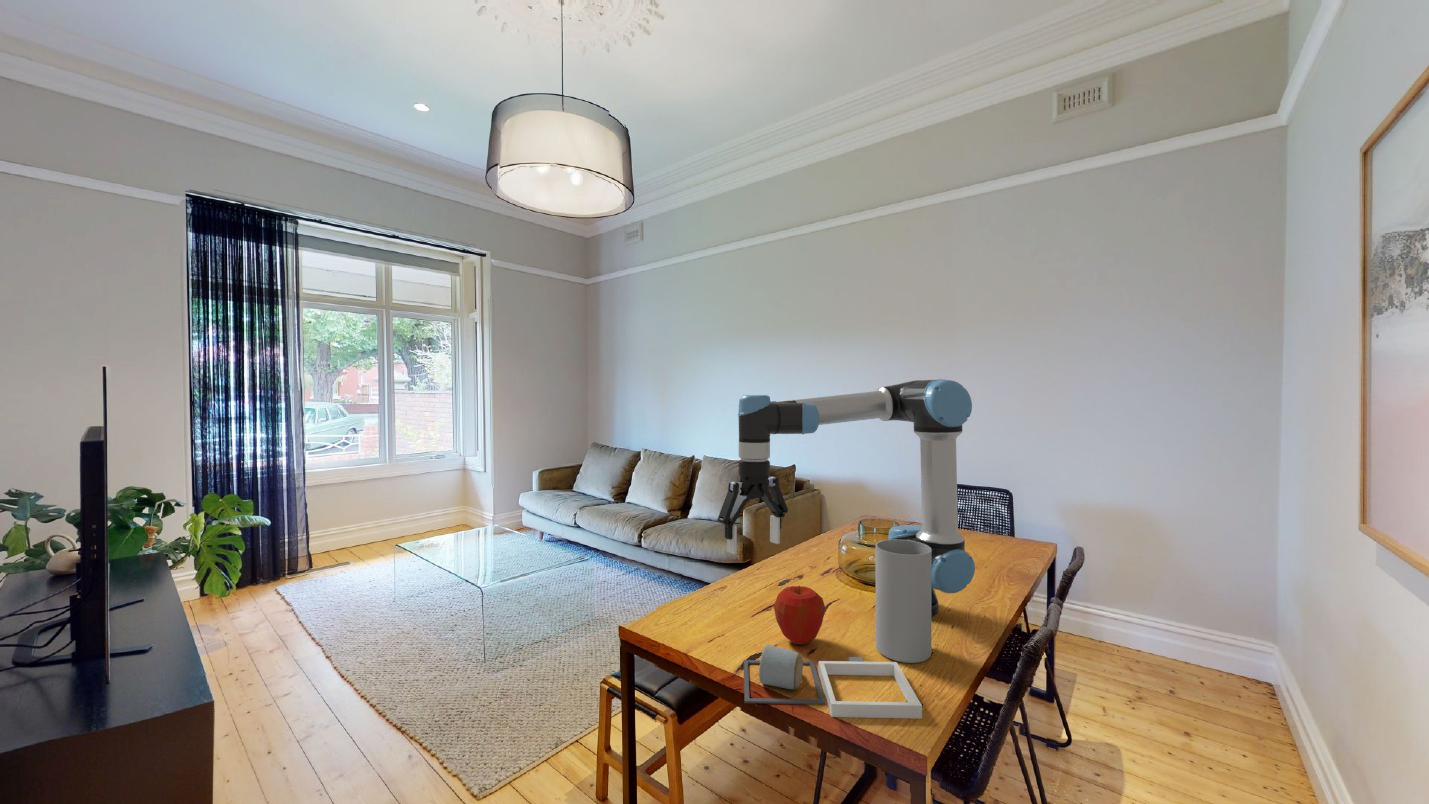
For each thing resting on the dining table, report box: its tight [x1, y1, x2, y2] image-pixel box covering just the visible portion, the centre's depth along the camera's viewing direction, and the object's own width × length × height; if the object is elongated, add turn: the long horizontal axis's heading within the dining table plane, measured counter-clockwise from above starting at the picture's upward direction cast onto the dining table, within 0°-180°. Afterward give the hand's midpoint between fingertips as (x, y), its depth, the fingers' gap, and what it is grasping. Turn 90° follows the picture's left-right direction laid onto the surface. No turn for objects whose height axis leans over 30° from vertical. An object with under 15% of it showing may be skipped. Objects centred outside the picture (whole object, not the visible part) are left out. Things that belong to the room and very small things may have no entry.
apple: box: [773, 585, 826, 646], centre depth 131 cm, size 12×12×14 cm
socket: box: [818, 656, 923, 720], centre depth 109 cm, size 17×18×2 cm
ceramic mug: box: [758, 644, 804, 690], centre depth 113 cm, size 11×8×8 cm
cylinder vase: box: [875, 539, 932, 664], centre depth 126 cm, size 12×12×25 cm
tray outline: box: [743, 659, 826, 705], centre depth 113 cm, size 16×16×1 cm
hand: (753, 547), depth 127 cm, fingers open, 13 cm apart
